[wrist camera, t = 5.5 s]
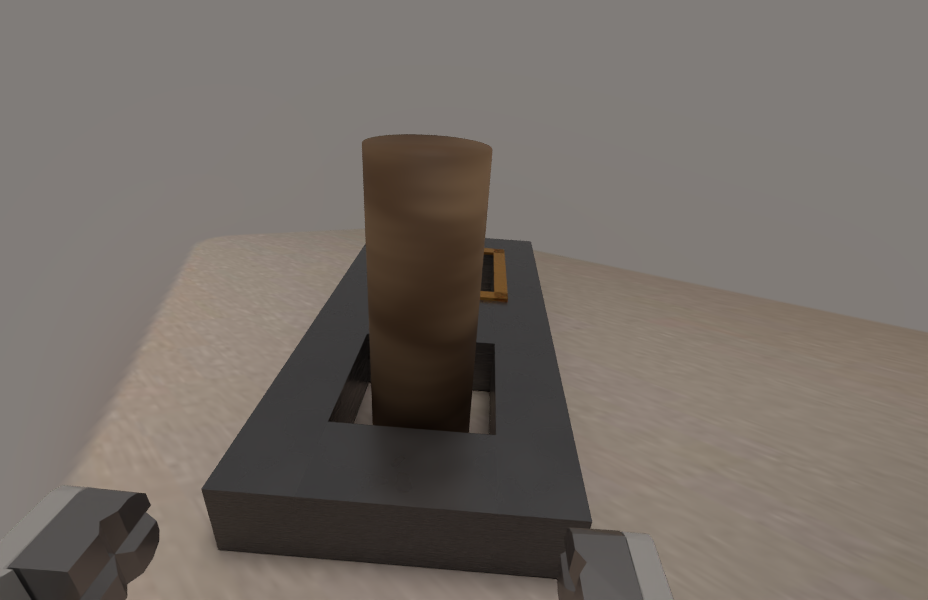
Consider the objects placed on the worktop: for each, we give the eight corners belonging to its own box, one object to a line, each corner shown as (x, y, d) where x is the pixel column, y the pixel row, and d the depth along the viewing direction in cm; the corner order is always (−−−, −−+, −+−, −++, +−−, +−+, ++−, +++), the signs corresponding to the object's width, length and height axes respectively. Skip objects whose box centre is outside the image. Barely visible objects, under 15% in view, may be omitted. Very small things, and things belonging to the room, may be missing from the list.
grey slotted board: (526, 275, 39) (531, 239, 37) (575, 579, 16) (593, 517, 15) (375, 264, 39) (374, 227, 38) (218, 549, 16) (199, 484, 15)
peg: (453, 392, 25) (469, 135, 19) (481, 455, 21) (512, 157, 15) (367, 405, 24) (355, 133, 18) (380, 474, 20) (370, 157, 14)
